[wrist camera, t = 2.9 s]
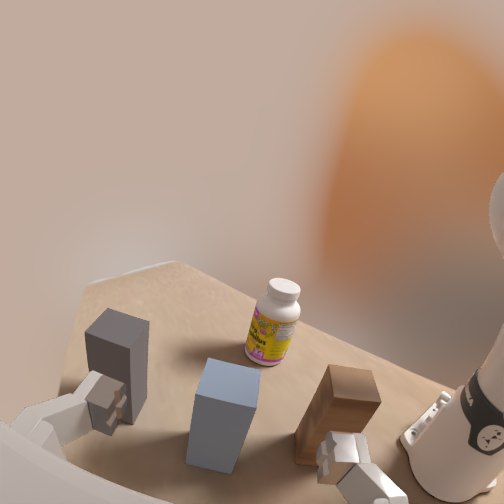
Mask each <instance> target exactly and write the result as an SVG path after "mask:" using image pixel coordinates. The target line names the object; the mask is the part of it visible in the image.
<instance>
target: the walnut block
mask: <svg viewBox="0 0 504 504" xmlns="http://www.w3.org/2000/svg"><path fill="white" fill-rule="evenodd" d="M380 404H381V399H380V396H379V393H378V390H377V386H376V383H375V380H374V377H373V374H372V371H371V370H363V369H356V368H350V367H343V366H337V365H331V364H329V365H328V367H327V369H326V372H325V374H324V376H323V378H322V380H321V382H320V384H319V386H318V388H317V391H316V393H315V395H314V397H313V399H312V401H311V403H310V405H309V407H308V409H307V411H306V413H305V414H304V416H303V418H302V420H301V422H300V424H299V426H298V428H297V430H296V432H295V464H304V465H315V466H319V465H318V464H317V463H316V453H317V450H318V447H319V445H320V443H321V442H323V441H325V436H326V434H327V433H328V432H329V431H336V432H350V433H361V432H362V430H363V429H364V428H365V426H366V425H367V423H368V422H369V420H370V419H371V417H372V416H373V414H374V413H375V411H376V410H377V408H378V407H379V405H380Z"/></svg>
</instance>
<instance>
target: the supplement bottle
mask: <svg viewBox="0 0 504 504" xmlns="http://www.w3.org/2000/svg"><path fill="white" fill-rule="evenodd" d="M267 290H268V293H265V294H263V295H261V296H260V297H259V298H258V300H257V303H256V307H255V311H254V314H253V318H252V322H251V326H250V329H249V333H248V337H247V340H246V344H245V352H246V354H247V356H248V357H249V358H250V359H251V360H252V361H254V362H256V363H258V364H261V365H265V366H273V365H277V364H279V363H280V362H282V361H283V359H284V357H285V355H286V352H287V349H288V346H289V344H290V341H291V338H292V335H293V332H294V329H295V326H296V324H297V321H298V318H299V315H300V306H299V304H298V303H297V301H296V300H297V298H298V297H299V294H300V287H299V286H298V285H297V284H296V283H294V282H292V281H289V280H286V279H282V278H274V279H271V280H270V282H269V284H268V288H267Z"/></svg>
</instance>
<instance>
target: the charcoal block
mask: <svg viewBox="0 0 504 504" xmlns="http://www.w3.org/2000/svg"><path fill="white" fill-rule="evenodd" d="M148 338H149V321H146V320H143V319H140V318H137V317H133V316H130V315H127V314H124V313H121V312H118V311H115V310H112V309H109V308H107V309H106V310H105V311H104V312H103V313H102V314H101V315H100V316H99V317H98V318H97V319H96V321H95V322H94V323H93V324H92V325H91V326H90V327H89V328H88V329H87V330H86V331H85V342H86V351H87V360H88V368H89V372H91V371H92V370H93V371H96V372H98V373H100V374H103V375H105V376H108V377H110V378H112V379H115V380H117V381H120V382H122V383H125V384H126V388H127V390H126V392H125V395H126V397H127V407H126V410H125V413H124V415H123V416H122V418H120V419H118V420H121V421H123V422H126V423H129V424H131V425H133V424H134V422H135V420H136V418H137V416H138V414H139V412H140V410H141V408H142V406H143V404H144V402H145V400H146V398H147V363H148Z"/></svg>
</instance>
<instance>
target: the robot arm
mask: <svg viewBox="0 0 504 504" xmlns="http://www.w3.org/2000/svg"><path fill="white" fill-rule="evenodd" d="M489 220H490V226H491V230H492V234H493V237H494V240H495V242H496V244H497V246H498V248H499V250H500V252H501V254H502V257H503V259H504V172H503V173H502V174H501V175H500V177H499V178H498V180H497V182H496V184H495V186H494V188H493V191H492V194H491V199H490V205H489ZM126 390H127V388H126V384H125V383H122V382H120V381H117V380H115V379H112V378H110V377H108V376H105V375H103V374H100V373H98V372H96V371H93V370H92V371H91V372H89V373H88V375H87V376H86V377H85V379H84V380H83V381H82V383H81V384H80V385H79V386H78V388H77V389H76V390H75V392H74V393H73V394H71V393H68V394H65V395H62V396H59V397H57V398H54V399H51V400H48V401H45V402H42V403H38V404H35V405H32V406H29V407H26V408H24V409H23V410H22V412H21V413H20V414H19V415H18V417H17V418H16V419H15V420H14V421H13V423H12V424H11V425H10V426H8V425H6V424H5V423H3V422H2V421H1V420H0V504H174V503H171V502H167V501H164V500H161V499H157V498H154V497H151V496H148V495H145V494H142V493H139V492H137V491H134V490H131V489H128V488H126V487H123V486H121V485H118V484H116V483H113V482H111V481H108V480H106V479H104V478H101V477H99V476H97V475H94V474H92V473H90V472H88V471H86V470H84V469H82V468H80V467H78V466H75V465H73V464H72V463H70V462H68V461H66V457H65V455H64V453H63V450H62V448H61V447H62V446H64V445H66V444H68V443H70V442H71V441H73V440H75V439H77V438H79V437H81V436H83V435H85V434H86V433H88V432H90V431H92V430H93V429H94V430H97V431H99V432H102V433H104V434H107V435H110V436H112V435H113V433H114V431H115V429H116V428H117V426H118V422H117V419H120V418H122V416H123V415H124V413H125V410H126V407H127V397H126V395H125V392H126ZM400 440H401V443H402V445H403V446H404V448H405V450H406V451H407V452H408V455H409V460H410V465H411V469H412V471H413V474H414V476H415V478H416V479H417V481H418V482H419V484H420V485H421V486H422V487H423V488H424V489H425V490H426V491H427V492H428V493H430V494H431V495H432V496H434V497H436V498H438V499H440V500H443V501H447V502H454V503H457V502H463V501H467V500H469V499H471V498H472V497H474V496H475V495H477V494H478V493H481V492H488V491H490V490H492V489H493V488H494V487H495V486H496V483H497V476H498V475H499V474H500V473H501V472H502V471H503V470H504V323H503V325H502V328H501V330H500V332H499V335H498V337H497V339H496V342H495V344H494V346H493V348H492V349H491V351H490V353H489V355H488V357H487V359H486V360H485V362H484V364H483V365H482V367H481V368H479V369H477V370H476V372H475V373H474V374H473V375H472V376H471V377H470V378H469V380H468V381H467V384H466V385H465V386H460V387H459V388H458V389H457V391H456V392H455V393H454V395H453V396H450V395H449V394H448V393H447V392H444V391H443V393H442V394H441V395H440V397H439V398H438V399H437V400H436V402H435V403H434V404H433V405H432V406H431V407H430V408H429V409H428V410H427V411H426V412H425V413H424V414H423V415H422V416H421V417H420V418H419V419H418V420H417V421H416V422H415V423H414V424H413V425H412V426H411V427H410V428H409V429H407V430H406V431H405V432H404V433H403V434H402V435H401V437H400ZM316 463H317V464H318V465H319V466H320V467H319V469H318V470H317V484H329V485H337V488H338V489H339V490H340V492H341V493H342V495H343V496H344V498H345V499H346V500H347V502H348V503H349V504H409V502H408V498H407V495H406V494H405V493H404V492H403V491H402V490H401V489H400V488H399V487H398V486H397V485H396V484H395V483H394V482H393V481H391V480H390V479H389V478H388V477H387V476H386V475H385V474H384V473H383V472H382V471H381V470H380V469H379V467H378V466H377V465H376V464H375V463H371V459H370V454H369V450H368V445H367V441H366V436H365V435H364V434H362V433H350V432H336V431H329V432H328V433H327V434H326V436H325V441H323V442H321V443H320V445H319V447H318V450H317V453H316Z"/></svg>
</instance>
